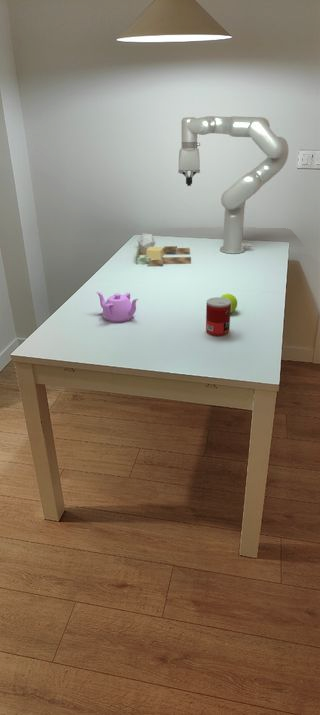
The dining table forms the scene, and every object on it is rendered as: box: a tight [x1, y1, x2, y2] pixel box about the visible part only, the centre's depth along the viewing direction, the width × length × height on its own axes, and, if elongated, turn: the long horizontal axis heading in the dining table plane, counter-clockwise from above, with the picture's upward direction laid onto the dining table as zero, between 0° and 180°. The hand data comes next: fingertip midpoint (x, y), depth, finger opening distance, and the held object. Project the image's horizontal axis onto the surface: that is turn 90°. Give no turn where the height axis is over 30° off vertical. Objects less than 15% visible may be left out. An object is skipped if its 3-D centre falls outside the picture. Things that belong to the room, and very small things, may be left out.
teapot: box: [95, 291, 139, 323], centre depth 185 cm, size 12×14×9 cm
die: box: [136, 233, 156, 249], centre depth 266 cm, size 8×9×10 cm
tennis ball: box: [220, 293, 238, 314], centre depth 188 cm, size 7×7×7 cm
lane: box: [135, 245, 192, 267], centre depth 250 cm, size 26×23×4 cm
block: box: [145, 246, 165, 260], centre depth 253 cm, size 7×7×4 cm
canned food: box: [205, 296, 231, 337], centre depth 172 cm, size 8×8×11 cm
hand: (189, 185), depth 255 cm, fingers closed
